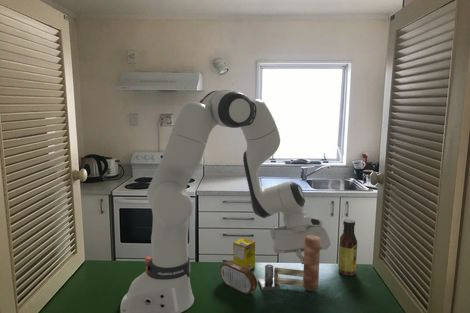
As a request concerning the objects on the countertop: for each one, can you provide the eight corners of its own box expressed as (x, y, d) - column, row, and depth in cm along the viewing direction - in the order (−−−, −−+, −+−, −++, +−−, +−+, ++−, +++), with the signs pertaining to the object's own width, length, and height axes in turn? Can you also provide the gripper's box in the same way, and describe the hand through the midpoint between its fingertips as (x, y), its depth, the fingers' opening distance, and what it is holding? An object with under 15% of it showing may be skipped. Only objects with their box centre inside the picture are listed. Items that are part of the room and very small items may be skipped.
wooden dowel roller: (273, 285, 116) (274, 237, 113) (275, 278, 121) (276, 232, 118) (318, 291, 113) (320, 242, 110) (318, 283, 118) (320, 236, 115)
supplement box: (255, 268, 131) (255, 241, 129) (245, 274, 127) (245, 246, 125) (243, 263, 135) (243, 237, 133) (233, 269, 130) (233, 242, 129)
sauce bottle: (356, 277, 125) (360, 224, 122) (338, 275, 126) (341, 223, 123) (354, 269, 131) (357, 218, 128) (337, 267, 132) (339, 217, 129)
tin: (257, 295, 113) (257, 271, 112) (251, 299, 111) (251, 274, 110) (224, 279, 124) (224, 257, 122) (218, 282, 121) (218, 259, 120)
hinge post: (262, 290, 116) (262, 271, 115) (258, 281, 122) (258, 263, 121) (279, 289, 117) (280, 269, 116) (274, 280, 123) (275, 261, 122)
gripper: (271, 223, 121) (279, 262, 113) (325, 220, 125) (337, 257, 117) (267, 231, 126) (274, 268, 118) (320, 227, 130) (330, 263, 122)
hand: (306, 263), depth 118 cm, fingers closed, pressing on wooden dowel roller
